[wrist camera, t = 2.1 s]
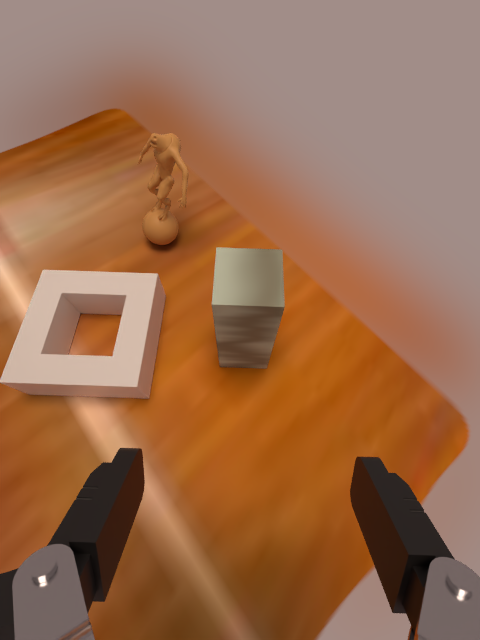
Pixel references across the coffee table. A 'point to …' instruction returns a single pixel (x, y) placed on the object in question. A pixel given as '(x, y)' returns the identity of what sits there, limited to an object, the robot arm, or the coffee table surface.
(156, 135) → the figurine
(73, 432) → the coffee table surface
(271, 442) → the coffee table surface
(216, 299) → the green metallic peg
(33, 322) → the white well block
